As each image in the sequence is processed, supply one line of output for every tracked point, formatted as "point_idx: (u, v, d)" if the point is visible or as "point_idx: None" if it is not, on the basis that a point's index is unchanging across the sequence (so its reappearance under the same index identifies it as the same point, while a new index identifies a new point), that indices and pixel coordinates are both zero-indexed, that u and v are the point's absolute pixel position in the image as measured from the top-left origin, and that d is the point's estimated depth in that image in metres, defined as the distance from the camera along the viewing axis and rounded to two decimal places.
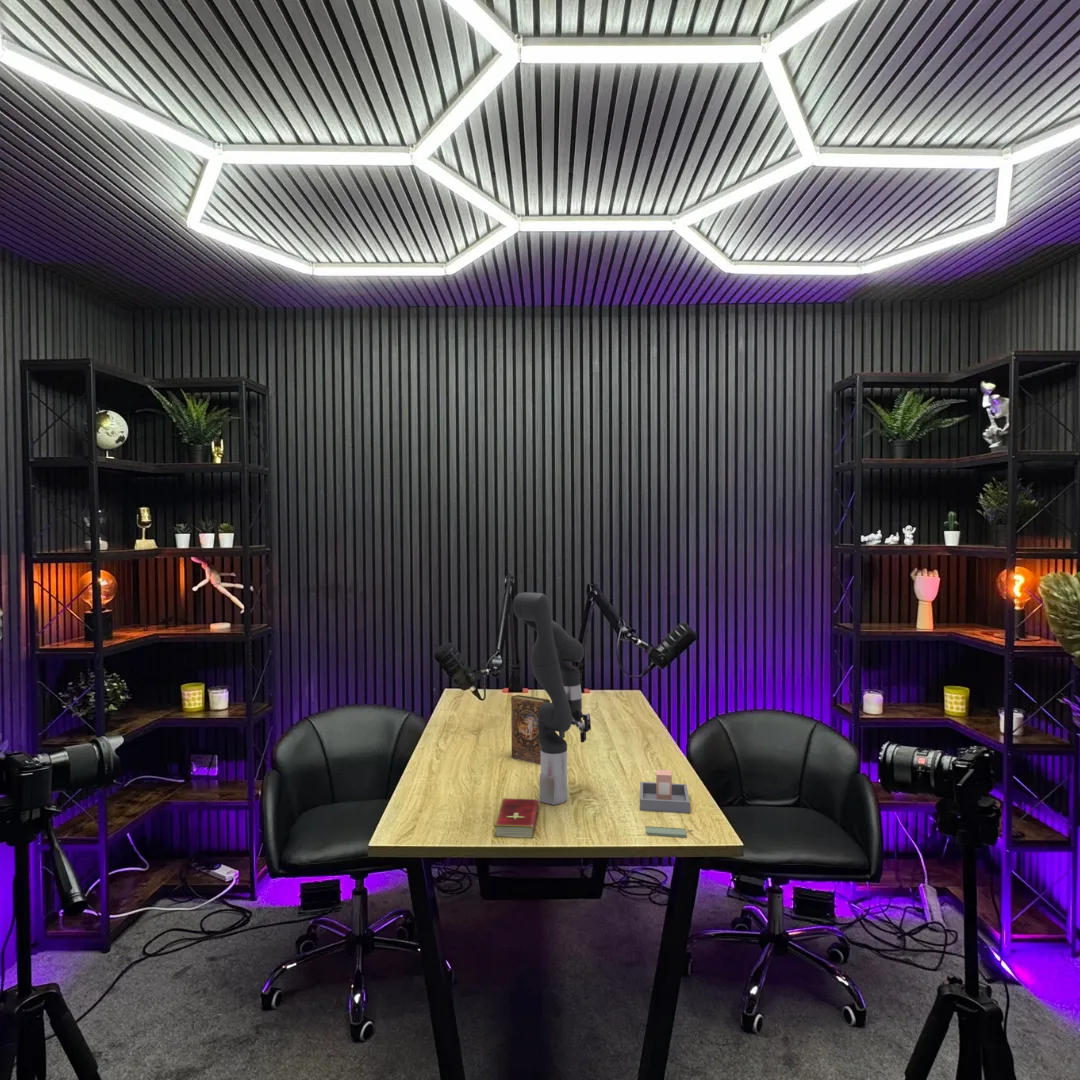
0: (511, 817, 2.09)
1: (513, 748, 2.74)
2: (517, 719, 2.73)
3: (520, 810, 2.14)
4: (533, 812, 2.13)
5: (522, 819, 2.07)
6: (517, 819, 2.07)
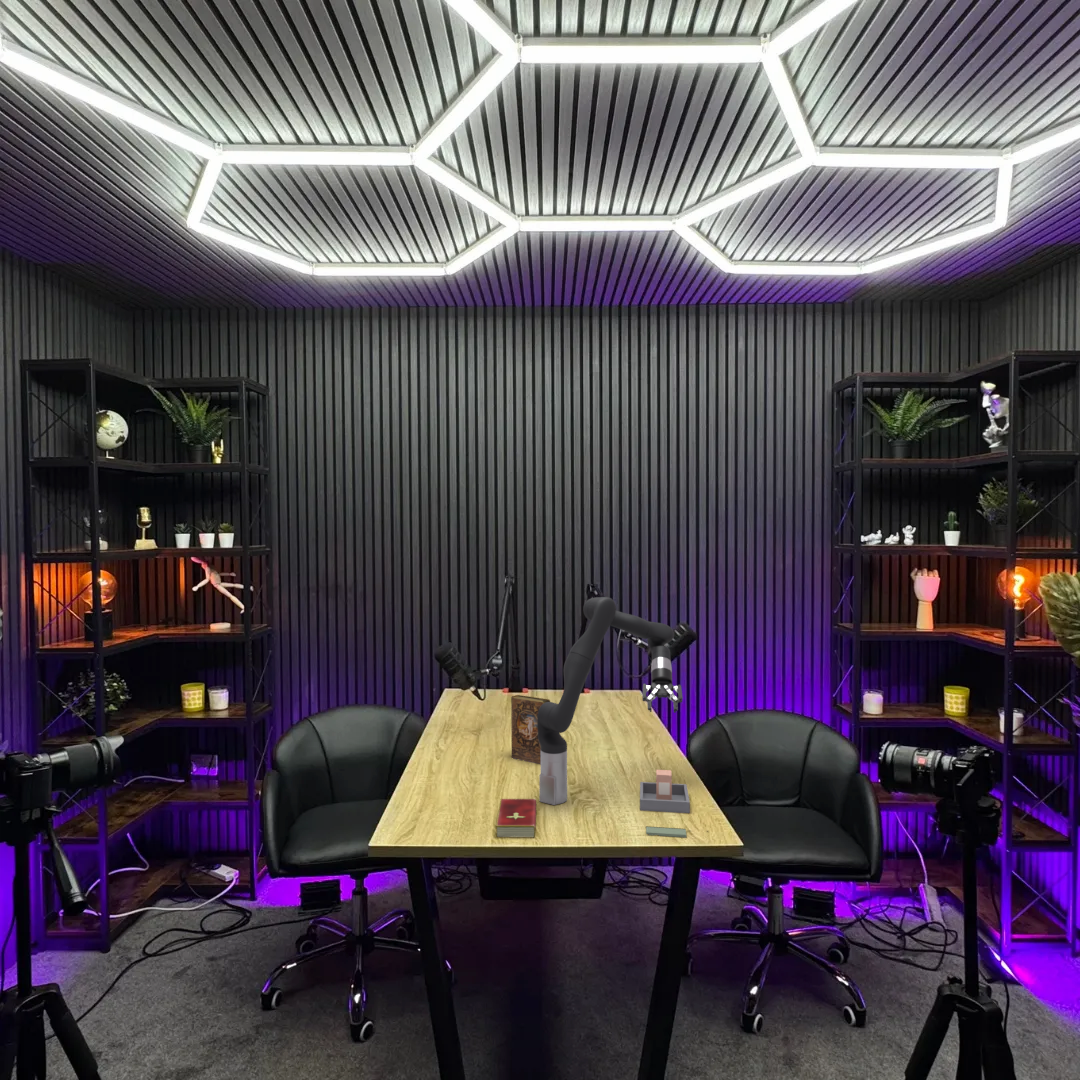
0: (511, 817, 2.08)
1: (513, 748, 2.74)
2: (517, 719, 2.73)
3: (519, 810, 2.14)
4: (533, 812, 2.13)
5: (523, 819, 2.07)
6: (518, 819, 2.07)
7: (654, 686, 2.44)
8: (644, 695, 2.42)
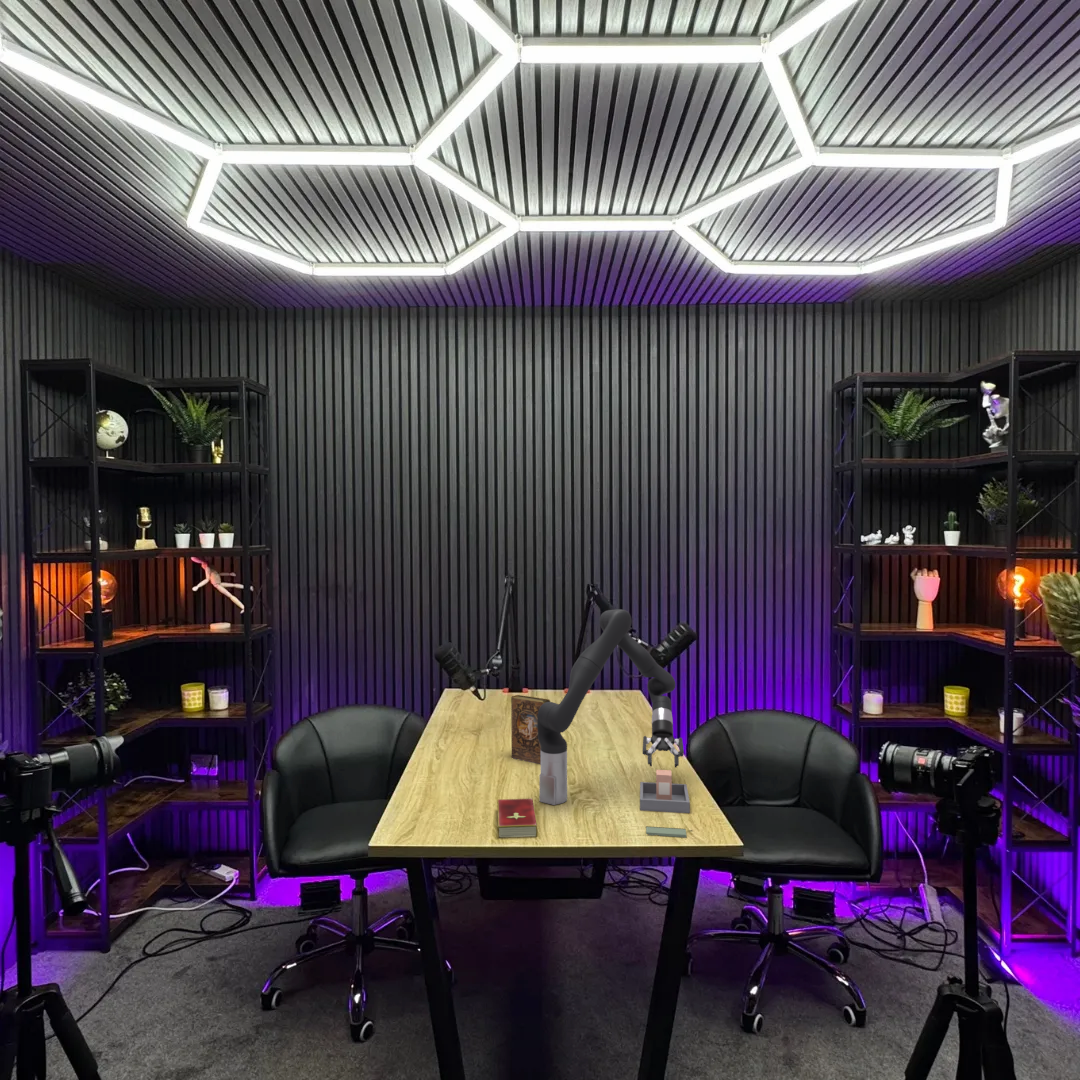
0: (512, 817, 2.08)
1: (513, 748, 2.74)
2: (517, 719, 2.73)
3: (518, 810, 2.14)
4: (532, 811, 2.13)
5: (523, 819, 2.08)
6: (519, 819, 2.07)
7: (654, 739, 2.38)
8: (644, 748, 2.36)
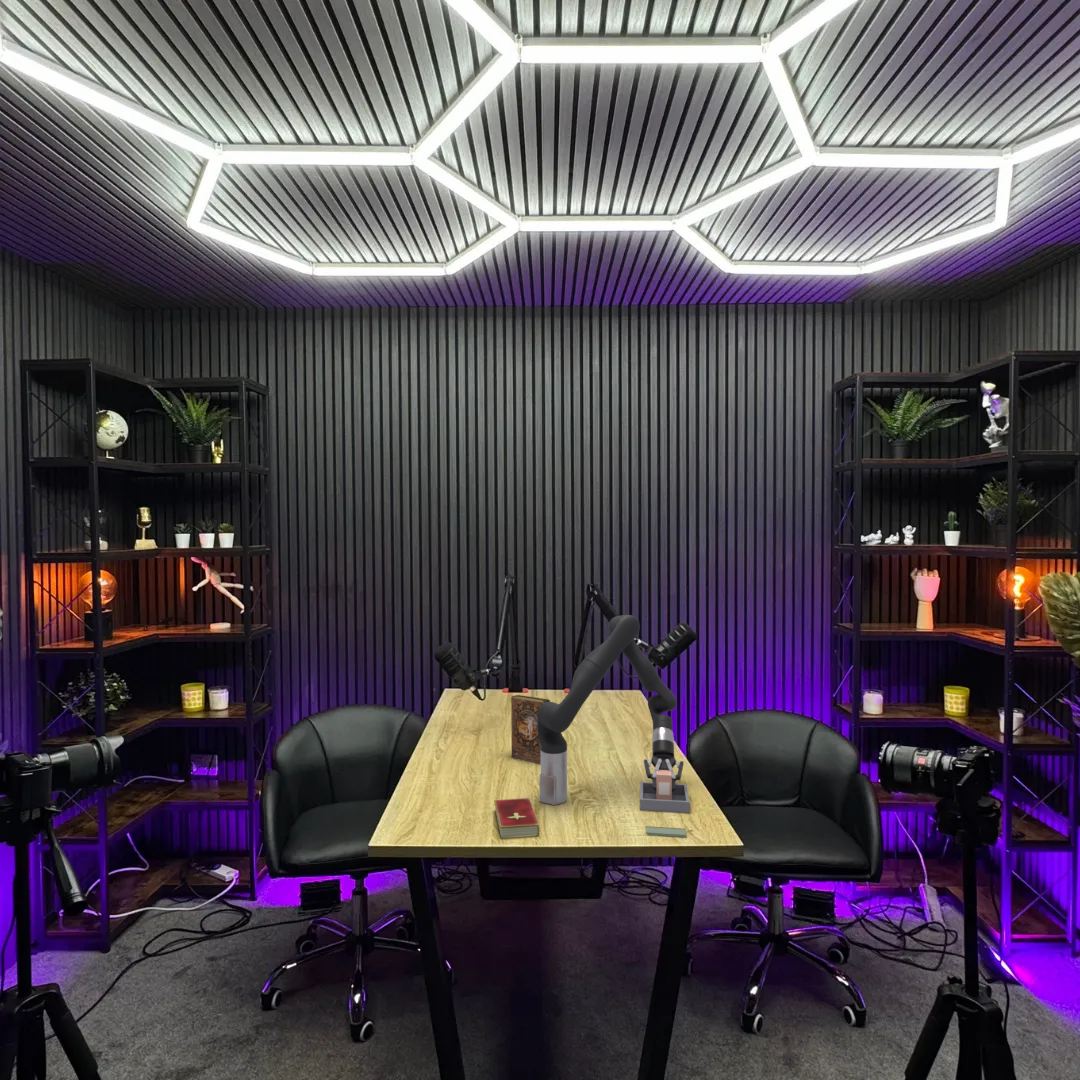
0: (513, 818, 2.08)
1: (513, 748, 2.74)
2: (517, 719, 2.73)
3: (517, 810, 2.14)
4: (531, 811, 2.14)
5: (524, 818, 2.08)
6: (519, 819, 2.07)
7: (655, 759, 2.32)
8: (649, 772, 2.29)
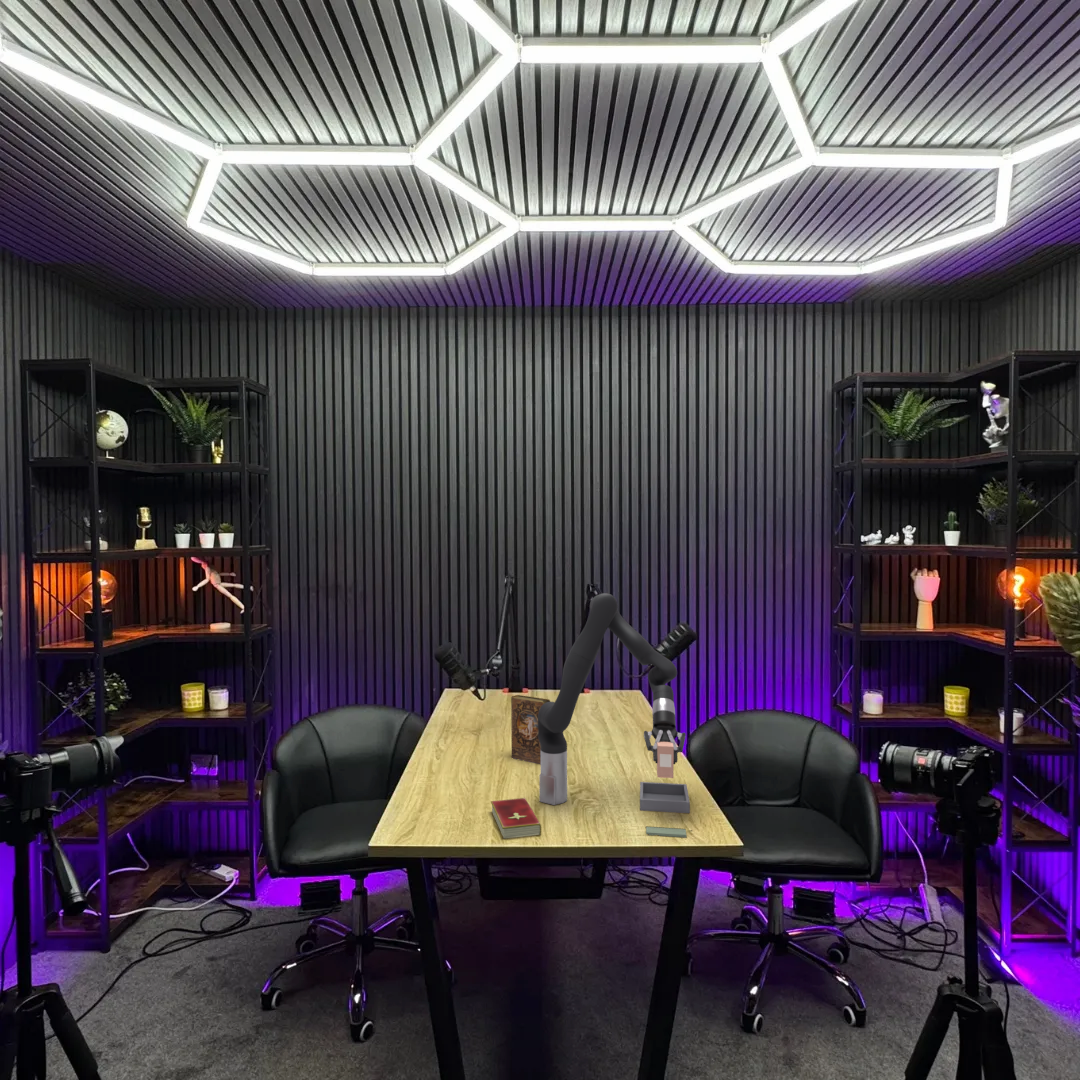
0: (513, 818, 2.08)
1: (513, 748, 2.74)
2: (517, 719, 2.73)
3: (516, 810, 2.14)
4: (530, 810, 2.14)
5: (525, 818, 2.08)
6: (520, 819, 2.08)
7: (656, 731, 2.20)
8: (649, 744, 2.17)
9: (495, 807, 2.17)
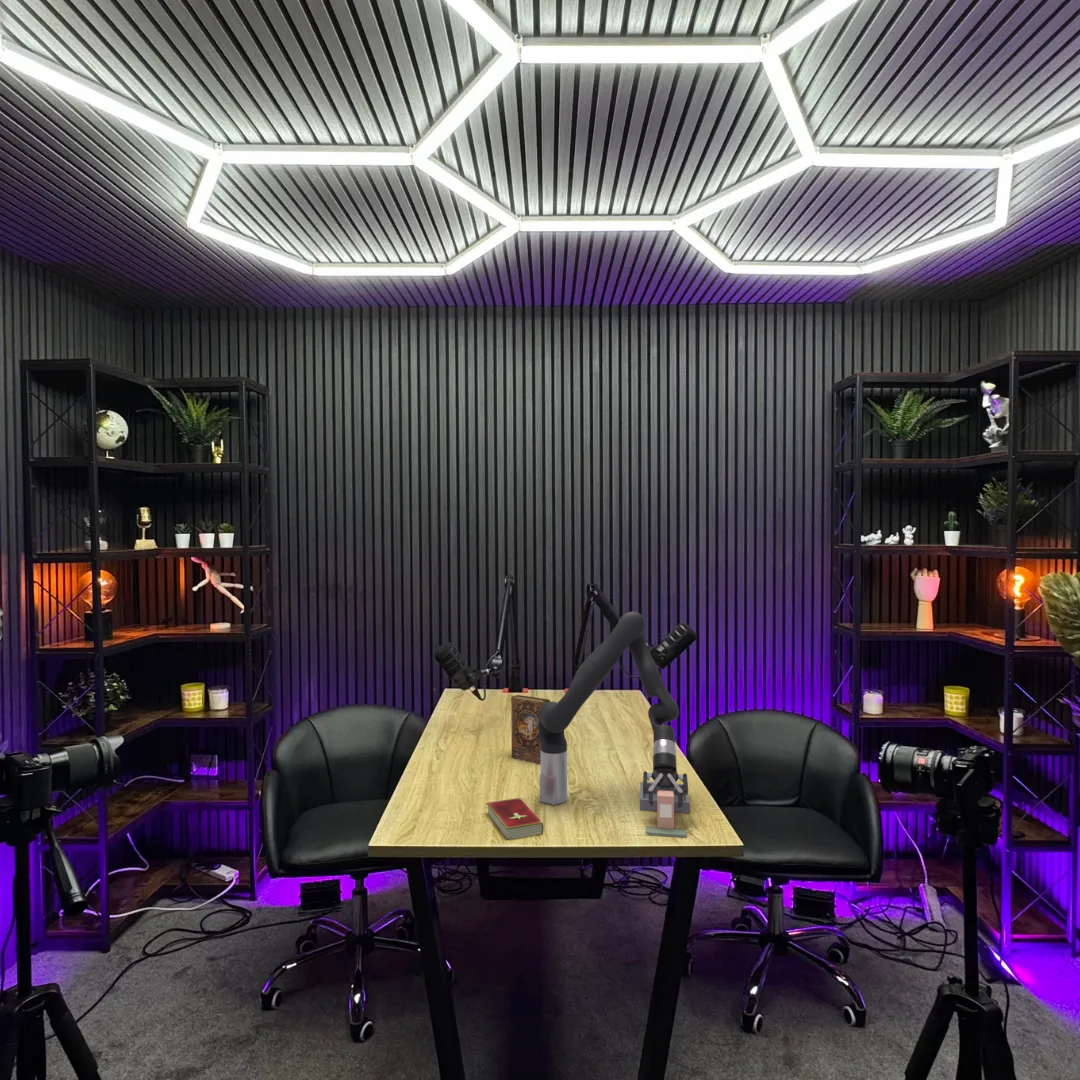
0: (514, 818, 2.08)
1: (513, 748, 2.74)
2: (517, 719, 2.73)
3: (515, 810, 2.14)
4: (529, 810, 2.15)
5: (526, 818, 2.08)
6: (521, 819, 2.08)
7: (656, 774, 2.14)
8: (645, 786, 2.12)
9: (493, 808, 2.16)
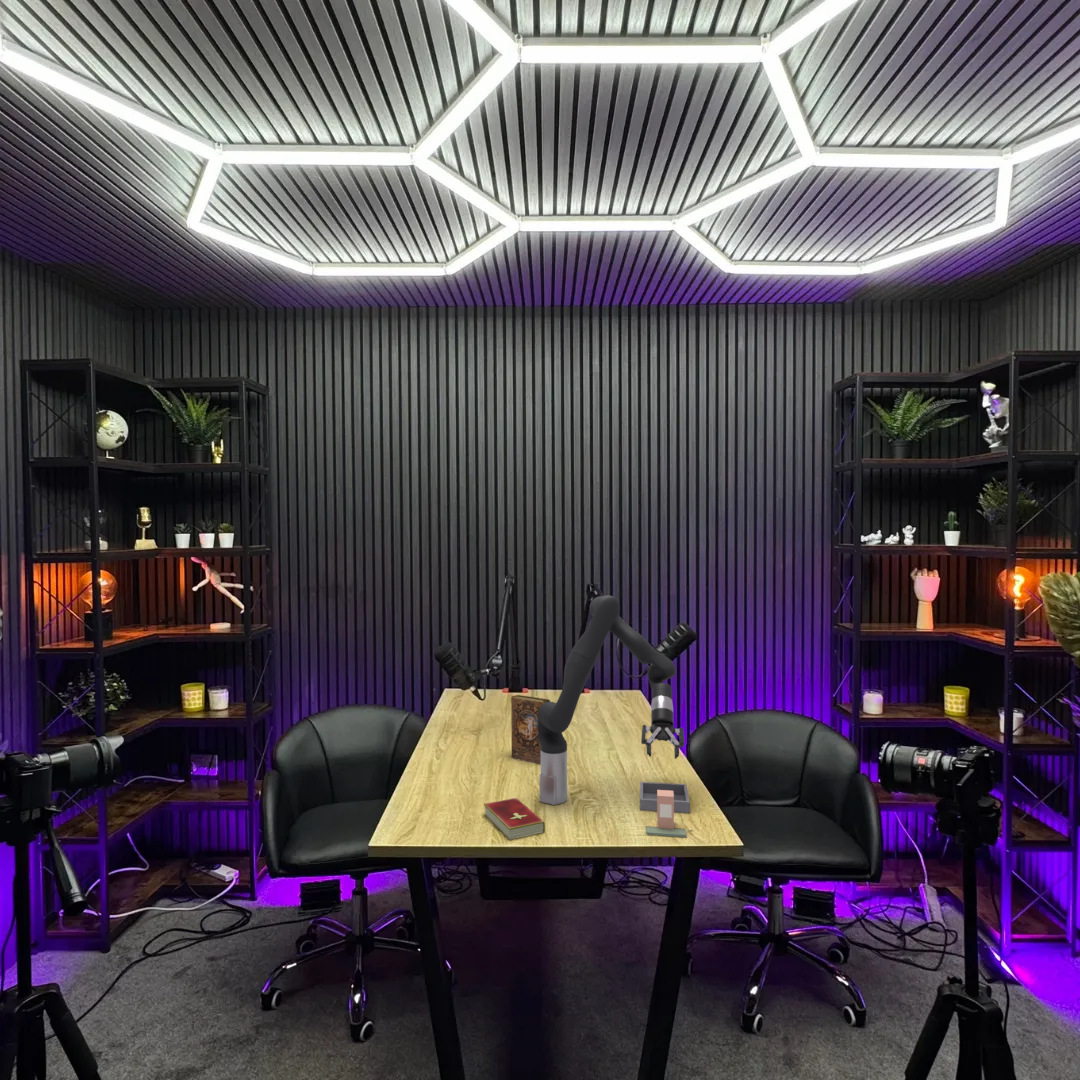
0: (515, 818, 2.08)
1: (513, 748, 2.74)
2: (517, 719, 2.73)
3: (514, 810, 2.14)
4: (528, 809, 2.15)
5: (527, 817, 2.09)
6: (522, 818, 2.08)
7: (654, 728, 2.28)
8: (643, 738, 2.25)
9: (491, 809, 2.15)
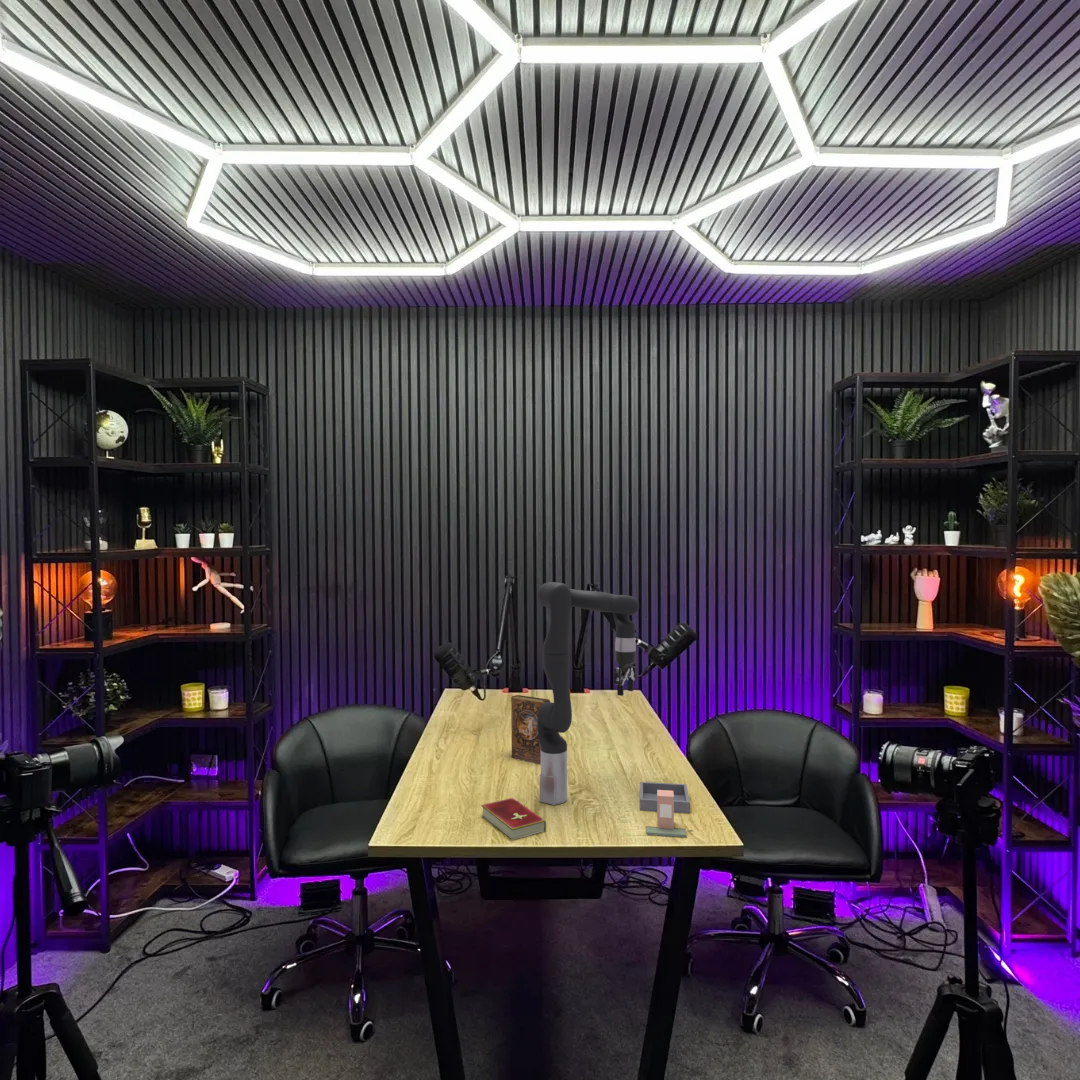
0: (516, 818, 2.08)
1: (513, 748, 2.74)
2: (517, 719, 2.73)
3: (513, 810, 2.14)
4: (527, 809, 2.15)
5: (527, 817, 2.09)
6: (523, 818, 2.08)
7: (625, 669, 2.45)
8: (620, 682, 2.41)
9: (490, 810, 2.14)
